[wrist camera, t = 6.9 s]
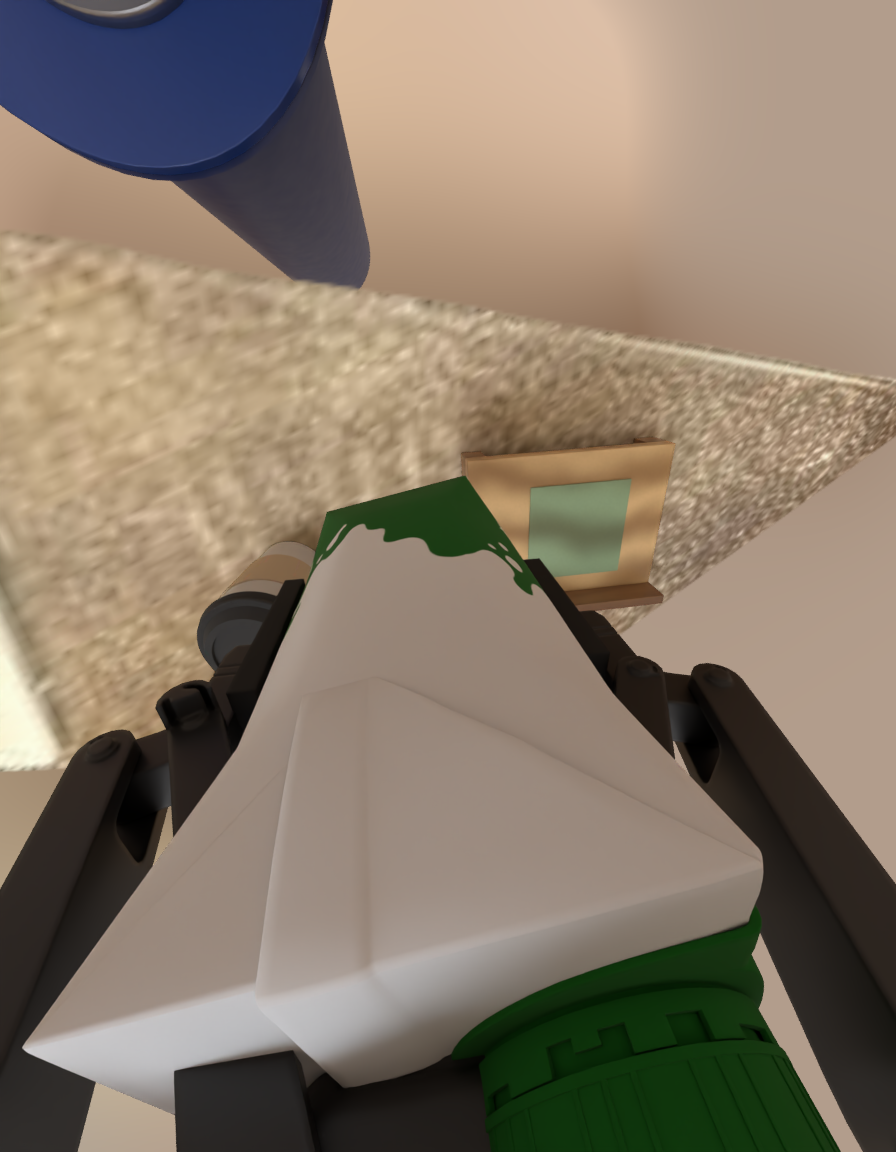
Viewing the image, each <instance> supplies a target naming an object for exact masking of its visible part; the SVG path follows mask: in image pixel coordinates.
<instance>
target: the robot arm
mask: <svg viewBox="0 0 896 1152" xmlns="http://www.w3.org/2000/svg"><path fill="white" fill-rule="evenodd" d="M45 1H47V2H48V3H50V4H51V5H53V6H54V7H56V8H58V9H59V10H61V11H63V12H65V13H67V14H68V15H71V16H73V17H75V18H77V19H80V20H82V21H85V22H88V23H91V24H94V25H97V26H103V27H108V28H118V29H128V28H138V27H142V26H146V25H149V24H152V23H154V22H157V21H159V20H161V19H162V18H164V17H165V16H167V15H169V14H170V13H171V12H172V11H174V10H175V9H176V8H177V7H178V6H179V5H180V4H181V3H182V2H183V1H184V0H45ZM524 562H525V563H526V565H527V566H528V568H529V569H530V571H531V572H532V574H533V575H534V577H535V578H536V580H537V581H538V583H539V584H540V586H541V587H542V589H543V590H544V592H545V593H546V595H547V596H548V598H549V599H550V601H551V602H552V604H553V605H554V607H555V608H556V610H557V611H558V613H559V614H560V616H561V617H562V619H563V620H564V622H565V623H566V625H567V626H568V628H569V629H570V631H571V632H572V634H573V635H574V637H575V638H576V640H577V641H578V643H579V644H580V646H581V647H582V649H583V650H584V652H585V653H586V655H587V656H588V658H589V659H590V661H591V662H592V664H593V665H594V667H595V668H596V670H597V671H598V673H599V674H600V676H601V677H602V679H603V680H604V681H605V683H606V684H607V686H608V687H609V689H610V690H611V691H612V693H613V694H614V695H615V696H616V698H617V699H618V700H619V701H620V702H621V703H622V704H623V705H624V706H625V707H626V708H627V710H628V711H629V712H630V713H631V714H632V715H633V716H634V717H635V718H636V719H637V720H638V721H639V722H640V723H641V724H642V725H643V727H644V728H645V729H646V730H647V731H648V732H649V733H650V734H651V735H652V736H653V737H654V738H655V739H656V740H657V741H658V743H659V744H660V745H661V746H662V747H663V748H664V749H665V750H666V751H667V752H668V753H669V754H670V755H671V756H672V757H673V758H674V760H675V755H674V747H673V741H675V743H676V745H677V747H678V750H679V752H680V754H681V756H682V759H683V761H684V763H685V765H686V768H687V770H688V772H689V774H690V776H691V778H692V779H693V780H694V781H695V782H696V783H697V784H698V785H699V786H700V787H701V788H702V789H703V790H704V791H705V792H706V793H707V795H708V796H709V797H710V798H711V799H712V800H713V801H714V802H715V803H716V804H717V805H718V806H719V807H720V808H721V809H722V810H723V811H724V813H725V814H726V815H727V816H728V817H729V818H730V819H731V820H732V821H733V822H734V823H735V824H736V825H737V826H738V827H739V828H740V829H741V830H742V831H743V832H744V833H745V835H746V836H747V837H748V838H749V839H750V840H751V841H752V842H753V843H754V844H755V845H756V846H757V847H758V848H759V850H760V852H761V854H762V859H763V880H762V885H761V889H760V893H759V896H758V898H757V900H756V903H755V905H756V907H757V909H758V910H759V913H760V916H761V918H762V927H761V931H760V933H761V935H762V938H763V940H764V942H765V945H766V947H767V949H768V951H769V954H770V956H771V958H772V960H773V963H774V965H775V967H776V969H777V972H778V974H779V976H780V978H781V980H782V983H783V985H784V987H785V990H786V992H787V994H788V996H789V998H790V1001H791V1003H792V1005H793V1007H794V1010H795V1012H796V1014H797V1016H798V1018H799V1021H800V1023H801V1025H802V1027H803V1030H804V1032H805V1034H806V1037H807V1039H808V1041H809V1043H810V1046H811V1048H812V1050H813V1052H814V1054H815V1057H816V1059H817V1061H818V1063H819V1066H820V1068H821V1070H822V1072H823V1074H824V1076H825V1079H826V1081H827V1083H828V1085H829V1087H830V1089H831V1091H832V1093H833V1095H834V1097H835V1099H836V1101H837V1103H838V1105H839V1108H840V1110H841V1112H842V1114H843V1116H844V1118H845V1120H846V1122H847V1124H848V1126H849V1127H850V1129H851V1131H852V1133H853V1135H854V1136H855V1138H856V1140H857V1142H858V1143H859V1145H860V1147H861V1149H862V1151H863V1152H896V884H895V882H894V881H893V880H892V879H891V877H890V876H889V875H888V873H887V872H886V871H885V869H884V868H883V867H882V865H881V864H880V863H879V861H878V860H877V858H876V857H875V856H874V854H873V853H872V852H871V850H870V849H869V848H868V846H867V845H866V844H865V842H864V841H863V840H862V838H861V837H860V836H859V834H858V833H857V832H856V830H855V829H854V828H853V826H852V825H851V824H850V822H849V821H848V820H847V818H846V817H845V816H844V814H843V813H842V812H841V810H840V809H839V808H838V806H837V805H836V804H835V802H834V801H833V800H832V798H831V797H830V796H829V794H828V793H827V792H826V790H825V789H824V788H823V786H822V785H821V784H820V782H819V781H818V780H817V778H816V777H815V776H814V774H813V773H812V772H811V770H810V769H809V768H808V766H807V765H806V764H805V763H804V761H803V760H802V758H801V757H800V756H799V754H798V753H797V752H796V750H795V749H794V748H793V746H792V745H791V744H790V742H789V741H788V740H787V738H786V737H785V735H784V734H783V733H782V731H781V730H780V729H779V728H778V726H777V725H776V724H775V722H774V721H773V720H772V718H771V717H770V716H769V714H768V713H767V711H766V710H765V709H764V707H763V706H762V705H761V704H760V702H759V701H758V699H757V698H756V697H755V696H754V694H753V693H752V691H751V690H750V689H749V687H748V686H747V685H746V683H745V682H744V681H743V679H742V678H740V677H739V676H738V675H737V674H736V673H735V672H733V671H731V670H730V669H728V668H725V667H723V666H719V665H716V664H709V663H705V664H698V665H696V666H695V667H694V668H693V670H692V673H691V675H682V674H673V673H667V672H663V670H662V668H661V667H660V666H659V665H658V664H656V663H655V662H653V661H651V660H649V659H647V658H644V657H640V656H636V654H635V653H634V652H633V651H632V650H631V648H630V647H629V646H628V645H627V644H626V642H625V641H624V640H623V639H622V638H621V636H620V635H619V634H617V632H616V630H615V629H614V628H613V627H611V624H610V623H609V622H608V621H607V620H606V618H605V617H603V616H602V615H600V614H599V613H597V612H595V611H594V610H589V611H579V610H578V609H577V607H576V606H575V605H574V603H573V602H572V601H571V599H570V598H569V597H568V595H567V594H566V593H565V591H564V590H563V589H562V587H561V586H560V585H559V583H558V582H557V581H556V579H555V578H554V577H553V575H552V574H551V573H550V571H549V570H548V569H547V567H546V566H545V565H544V564H543V562H542V561H541V560H540V558H537V559H525V560H524ZM304 588H305V581H304V579H293V580H285V581H284V583H283V585H282V587H281V589H280V591H279V593H278V595H277V597H276V598H275V600H274V602H273V604H272V606H271V608H270V610H269V612H268V614H267V616H266V617H265V619H264V621H263V623H262V625H261V627H260V629H259V631H258V633H257V635H256V636H255V638H254V640H253V642H252V644H251V645H240V646H236V647H235V648H233V649H232V650H231V651H230V652H229V653H228V654H226V655H225V657H224V658H223V660H222V662H221V663H220V665H219V668H217V670H216V672H215V673H214V677H212V678H211V680H210V682H206V681H203V680H193V681H189V682H185V683H182V684H180V685H178V686H176V687H173V688H172V689H170V690H169V691H168V692H166V693H165V694H163V696H162V697H161V698H160V699H159V700H158V701H157V704H156V710H157V712H158V714H159V716H160V718H161V720H162V722H163V724H164V726H165V728H166V730H163V731H161V732H158V733H155V734H152V735H149V736H146V737H143V738H140V739H137V740H136V739H135V738H134V736H133V734H132V733H131V732H130V731H127V730H115V731H110V732H108V733H105V734H102V735H100V736H98V737H96V738H94V739H92V740H91V741H89V742H87V743H86V744H85V745H84V746H83V747H81V748H80V749H79V750H78V751H77V752H76V754H75V755H74V756H73V757H72V759H71V761H70V763H69V764H68V766H67V768H66V770H65V772H64V773H63V775H62V777H61V779H60V781H59V783H58V784H57V786H56V788H55V790H54V792H53V794H52V795H51V798H50V799H49V801H48V803H47V805H46V807H45V808H44V810H43V812H42V814H41V816H40V817H39V819H38V821H37V823H36V825H35V827H34V828H33V830H32V832H31V834H30V836H29V838H28V839H27V841H26V843H25V845H24V847H23V849H22V850H21V852H20V854H19V856H18V858H17V860H16V861H15V863H14V865H13V867H12V869H11V871H10V872H9V874H8V876H7V878H6V880H5V882H4V883H3V885H2V887H1V889H0V1152H78V1148H79V1144H80V1140H81V1136H82V1133H83V1129H84V1125H85V1121H86V1117H87V1114H88V1110H89V1106H90V1102H91V1098H92V1094H93V1091H94V1087H95V1083H96V1082H95V1081H92V1080H90V1079H88V1078H85V1077H83V1076H80V1075H78V1074H76V1073H73V1072H71V1071H68V1070H66V1069H64V1068H61V1067H59V1066H57V1065H54V1064H52V1063H49V1062H47V1061H45V1060H42V1059H40V1058H38V1057H36V1056H34V1055H31V1054H29V1053H27V1052H26V1051H25V1050H24V1049H23V1048H22V1047H23V1045H24V1044H25V1042H26V1041H27V1039H28V1038H29V1037H30V1036H31V1034H32V1033H33V1032H34V1030H35V1029H36V1027H37V1026H38V1025H39V1023H40V1022H41V1020H42V1019H43V1018H44V1016H45V1015H46V1014H47V1012H48V1011H49V1009H50V1008H51V1007H52V1005H53V1004H54V1002H55V1001H56V1000H57V998H58V997H59V996H60V994H61V993H62V991H63V990H64V989H65V987H66V986H67V984H68V983H69V982H70V980H71V979H72V977H73V976H74V975H75V973H76V972H77V971H78V969H79V968H80V966H81V965H82V964H83V962H84V961H85V959H86V958H87V957H88V955H89V954H90V953H91V951H92V950H93V948H94V947H95V946H96V944H97V943H98V941H99V940H100V939H101V937H102V936H103V935H104V933H105V932H106V930H107V929H108V928H109V926H110V925H111V923H112V922H113V921H114V919H115V918H116V916H117V915H118V914H119V912H120V911H121V910H122V908H123V907H124V905H125V904H126V903H127V901H128V900H129V898H130V897H131V896H132V894H133V893H134V892H135V890H136V889H137V887H138V886H139V885H140V883H141V882H142V880H143V879H144V878H145V876H146V875H147V873H148V872H149V871H150V869H151V868H152V866H153V862H154V859H155V854H156V851H157V847H158V843H159V840H160V836H161V832H162V828H163V824H164V820H165V817H166V813H167V809H168V807H169V806H171V807H172V824H173V837H174V836H175V835H176V833H177V832H178V830H179V829H180V828H181V826H182V825H183V823H184V822H185V821H186V819H187V818H188V816H189V815H190V814H191V812H192V811H193V810H194V808H195V807H196V805H197V804H198V803H199V801H200V800H201V798H202V797H203V796H204V794H205V793H206V791H207V790H208V789H209V787H210V786H211V784H212V783H213V782H214V780H215V779H216V777H217V776H218V775H219V773H220V772H221V770H222V769H223V767H224V766H225V765H226V763H227V762H228V760H229V759H230V757H231V756H232V755H233V753H234V752H235V750H236V749H237V747H238V745H239V743H240V740H241V738H242V736H243V734H244V731H245V729H246V727H247V724H248V722H249V720H250V717H251V715H252V713H253V710H254V708H255V706H256V703H257V701H258V698H259V696H260V694H261V691H262V689H263V686H264V684H265V682H266V679H267V677H268V675H269V672H270V670H271V667H272V665H273V663H274V660H275V658H276V655H277V653H278V651H279V648H280V646H281V643H282V641H283V639H284V636H285V634H286V632H287V629H288V627H289V624H290V622H291V620H292V617H293V615H294V612H295V610H296V607H297V605H298V603H299V600H300V598H301V595H302V593H303V591H304ZM485 1058H486V1057H485V1055H480V1056H475V1057H469V1058H464V1059H458V1060H452V1057H451V1054H450V1055H448V1056H445V1057H443V1058H442V1059H441V1060H440V1061H438V1062H436V1063H435V1064H432V1065H430V1066H428V1067H426V1068H424V1069H421V1070H419V1071H416V1072H413V1073H410V1074H407V1075H404V1076H401V1077H398V1078H395V1079H390V1080H384V1081H379V1082H374V1083H369V1084H365V1085H361V1086H357V1087H348V1088H343V1087H342V1086H341V1085H340V1084H339V1083H338V1082H337V1081H335V1080H334V1079H333V1078H332V1077H331V1076H330V1075H329V1074H328V1073H327V1072H326V1073H324V1074H322V1075H321V1076H319V1077H318V1078H317V1079H316V1080H315V1081H314V1082H313V1083H312V1084H311V1085H310V1086H309V1087H308V1088H307V1086H306V1082H305V1078H304V1073H303V1069H302V1064H301V1062H300V1061H299V1059H298V1058H297V1056H296V1054H295V1053H294V1051H293V1050H289V1051H283V1052H277V1053H272V1054H266V1055H260V1056H254V1057H248V1058H242V1059H237V1060H231V1061H225V1062H219V1063H214V1064H208V1065H202V1066H196V1067H191V1068H186V1069H181V1070H176V1071H174V1098H175V1121H176V1122H175V1123H176V1144H177V1145H176V1147H177V1152H491V1148H490V1140H489V1133H486V1127H485V1119H486V1118H487V1117H488V1116H486V1110H485V1102H484V1093H483V1086H482V1079H481V1074H480V1068H479V1064H480V1063H481V1062H482V1061H483V1060H484V1059H485ZM494 1104H495V1102H494ZM495 1111H496V1109H495Z"/></svg>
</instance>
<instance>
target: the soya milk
mask: <svg viewBox="0 0 896 1152" xmlns="http://www.w3.org/2000/svg"><path fill="white" fill-rule="evenodd" d="M762 880H763V859H762V854H761V852H760V850H759V848H758V847H757V846H756V845H755V844H754V843H753V842H752V841H751V840H750V839H749V838H748V837H747V836H746V835H745V833H744V832H743V831H742V830H741V829H740V828H739V827H738V826H737V825H736V824H735V823H734V822H733V821H732V820H731V819H730V818H729V817H728V816H727V815H726V814H725V813H724V811H723V810H722V809H721V808H720V807H719V806H718V805H717V804H716V803H715V802H714V801H713V800H712V799H711V798H710V797H709V796H708V795H707V793H706V792H705V791H704V790H703V789H702V788H701V787H700V786H699V785H698V784H697V783H696V782H695V781H694V780H693V779H692V778H691V776H690V775H688V774H687V772H686V771H685V770H684V769H683V768H682V767H681V766H680V765H679V764H678V763H677V762H676V761H675V760H674V758H673V757H672V756H671V755H670V754H669V753H668V752H667V751H666V750H665V749H664V748H663V747H662V746H661V745H660V744H659V743H658V741H657V740H656V739H655V738H654V737H653V736H652V735H651V734H650V733H649V732H648V731H647V730H646V729H645V728H644V727H643V725H642V724H641V723H640V722H639V721H638V720H637V719H636V718H635V717H634V716H633V715H632V714H631V713H630V712H629V711H628V710H627V708H626V707H625V706H624V705H623V704H622V703H621V702H620V701H619V700H618V699H617V698H616V696H615V695H614V694H613V693H612V691H611V690H610V689H609V687H608V686H607V684H606V683H605V681H604V680H603V679H602V677H601V676H600V674H599V673H598V671H597V670H596V668H595V667H594V665H593V664H592V662H591V661H590V659H589V658H588V656H587V655H586V653H585V652H584V650H583V649H582V647H581V646H580V644H579V643H578V641H577V640H576V638H575V637H574V635H573V634H572V632H571V631H570V629H569V628H568V626H567V625H566V623H565V622H564V620H563V619H562V617H561V616H560V614H559V613H558V611H557V610H556V608H555V607H554V605H553V604H552V602H551V601H550V599H549V598H548V596H547V595H546V593H545V592H544V590H543V589H542V587H541V586H540V584H539V583H538V581H537V580H536V578H535V577H534V575H533V574H532V572H531V571H530V569H529V568H528V566H527V565H526V563H525V562H524V560H523V559H522V557H521V556H520V554H519V553H518V551H517V550H516V548H515V547H514V545H513V544H512V542H511V541H510V539H509V538H508V536H507V535H506V533H505V532H504V531H503V529H502V528H501V526H500V525H499V523H498V522H497V520H496V519H495V518H494V516H493V515H492V513H491V512H490V510H489V509H488V508H487V506H486V505H485V503H484V502H483V500H482V499H481V498H480V496H479V495H478V493H477V492H476V490H475V489H474V487H473V486H472V484H471V483H470V482H469V480H468V479H467V477H466V476H461V477H457V478H454V479H450V480H446V481H442V482H439V483H435V484H431V485H427V486H423V487H420V488H416V489H412V490H408V491H405V492H401V493H397V494H393V495H390V496H386V497H382V498H378V499H374V500H371V501H367V502H363V503H359V504H356V505H352V506H348V507H344V508H340V509H337V510H333V511H329V512H327V514H326V517H325V521H324V524H323V528H322V531H321V535H320V538H319V542H318V545H317V548H316V552H315V555H314V559H313V562H312V566H311V569H310V573H309V576H308V580H307V583H306V586H305V588H304V591H303V593H302V595H301V598H300V600H299V603H298V605H297V607H296V610H295V612H294V615H293V617H292V620H291V622H290V624H289V627H288V629H287V632H286V634H285V636H284V639H283V641H282V643H281V646H280V648H279V651H278V653H277V655H276V658H275V660H274V663H273V665H272V667H271V670H270V672H269V675H268V677H267V679H266V682H265V684H264V686H263V689H262V691H261V694H260V696H259V698H258V701H257V703H256V706H255V708H254V710H253V713H252V715H251V717H250V720H249V722H248V724H247V727H246V729H245V731H244V734H243V736H242V738H241V740H240V743H239V745H238V747H237V749H236V750H235V752H234V753H233V755H232V756H231V757H230V759H229V760H228V762H227V763H226V765H225V766H224V767H223V769H222V770H221V772H220V773H219V775H218V776H217V777H216V779H215V780H214V782H213V783H212V784H211V786H210V787H209V789H208V790H207V791H206V793H205V794H204V796H203V797H202V798H201V800H200V801H199V803H198V804H197V805H196V807H195V808H194V810H193V811H192V812H191V814H190V815H189V816H188V818H187V819H186V821H185V822H184V823H183V825H182V826H181V828H180V829H179V830H178V832H177V833H176V835H175V836H174V837H173V839H172V840H171V842H170V843H169V844H168V846H167V847H166V848H165V850H164V851H163V853H162V854H161V855H160V857H159V858H158V860H157V861H156V863H155V864H154V865H153V867H152V868H151V869H150V871H149V872H148V873H147V875H146V876H145V878H144V879H143V880H142V882H141V883H140V885H139V886H138V887H137V889H136V890H135V892H134V893H133V894H132V896H131V897H130V898H129V900H128V901H127V903H126V904H125V905H124V907H123V908H122V910H121V911H120V912H119V914H118V915H117V916H116V918H115V919H114V921H113V922H112V923H111V925H110V926H109V928H108V929H107V930H106V932H105V933H104V935H103V936H102V937H101V939H100V940H99V941H98V943H97V944H96V946H95V947H94V948H93V950H92V951H91V953H90V954H89V955H88V957H87V958H86V959H85V961H84V962H83V964H82V965H81V966H80V968H79V969H78V971H77V972H76V973H75V975H74V976H73V977H72V979H71V980H70V982H69V983H68V984H67V986H66V987H65V989H64V990H63V991H62V993H61V994H60V996H59V997H58V998H57V1000H56V1001H55V1002H54V1004H53V1005H52V1007H51V1008H50V1009H49V1011H48V1012H47V1014H46V1015H45V1016H44V1018H43V1019H42V1020H41V1022H40V1023H39V1025H38V1026H37V1027H36V1029H35V1030H34V1032H33V1033H32V1034H31V1036H30V1037H29V1038H28V1039H27V1041H26V1042H25V1044H24V1045H23V1047H22V1048H23V1049H24V1050H25V1051H26V1052H27V1053H29V1054H31V1055H34V1056H36V1057H38V1058H40V1059H42V1060H45V1061H47V1062H49V1063H52V1064H54V1065H57V1066H59V1067H61V1068H64V1069H66V1070H68V1071H71V1072H73V1073H76V1074H78V1075H80V1076H83V1077H85V1078H88V1079H90V1080H92V1081H95V1082H97V1083H100V1084H102V1085H104V1086H107V1087H109V1088H111V1089H114V1090H116V1091H119V1092H121V1093H123V1094H126V1095H128V1096H131V1097H133V1098H135V1099H138V1100H140V1101H143V1102H145V1103H147V1104H150V1105H152V1106H154V1107H157V1108H159V1109H162V1110H164V1111H166V1112H169V1113H171V1114H174V1115H175V1098H174V1071H176V1070H181V1069H186V1068H191V1067H196V1066H202V1065H208V1064H214V1063H219V1062H225V1061H231V1060H237V1059H242V1058H248V1057H254V1056H260V1055H266V1054H272V1053H277V1052H283V1051H289V1050H293V1051H294V1053H295V1054H296V1056H297V1058H298V1059H299V1061H300V1062H301V1064H302V1069H303V1073H304V1078H305V1082H306V1086H307V1088H308V1087H309V1086H310V1085H311V1084H312V1083H313V1082H314V1081H315V1080H316V1079H317V1078H318V1077H319V1076H321V1075H322V1074H324V1073H326V1072H327V1073H328V1074H329V1075H330V1076H331V1077H332V1078H333V1079H334V1080H335V1081H337V1082H338V1083H339V1084H340V1085H341V1086H342V1087H343V1088H348V1087H357V1086H361V1085H365V1084H369V1083H374V1082H379V1081H384V1080H390V1079H395V1078H398V1077H401V1076H404V1075H407V1074H410V1073H413V1072H416V1071H419V1070H421V1069H424V1068H426V1067H428V1066H430V1065H432V1064H435V1063H436V1062H438V1061H440V1060H441V1059H442V1058H443V1057H445V1056H448V1055H450V1054H451V1057H452V1060H458V1059H464V1058H469V1057H475V1056H480V1055H485V1057H486V1058H485V1059H484V1060H483V1061H482V1062H481V1063H480V1064H479V1068H480V1074H481V1079H482V1086H483V1093H484V1102H485V1110H486V1116H488V1117H487V1118H486V1119H485V1127H486V1133H489V1140H490V1148H491V1152H841V1151H840V1149H839V1147H838V1146H837V1144H836V1142H835V1141H834V1139H833V1137H832V1135H831V1133H830V1131H829V1130H828V1128H827V1126H826V1124H825V1123H824V1121H823V1119H822V1117H821V1116H820V1114H819V1112H818V1110H817V1109H816V1107H815V1105H814V1103H813V1101H812V1100H811V1098H810V1096H809V1094H808V1092H807V1091H806V1089H805V1087H804V1085H803V1083H802V1082H801V1080H800V1078H799V1077H798V1075H797V1073H796V1071H795V1070H794V1068H793V1065H792V1063H791V1061H790V1060H789V1058H788V1056H787V1055H786V1052H785V1051H784V1050H783V1049H782V1048H781V1047H780V1046H779V1045H778V1043H777V1041H776V1039H775V1038H774V1036H773V1034H772V1032H771V1031H770V1029H769V1027H768V1025H767V1023H766V1022H765V1020H764V1018H763V1016H762V1015H761V1013H760V1011H759V1009H758V1008H759V1006H760V1004H761V1001H762V997H763V992H764V981H763V978H762V975H761V973H760V971H759V969H758V967H757V965H756V963H755V961H754V959H753V957H752V955H751V954H752V952H753V950H754V949H755V946H756V943H757V940H758V937H759V934H760V931H761V927H762V918H761V916H760V913H759V910H758V909H757V907H756V905H755V903H756V900H757V898H758V896H759V893H760V889H761V885H762ZM494 1102H495V1104H494ZM495 1109H496V1111H495Z"/></svg>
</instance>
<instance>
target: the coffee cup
mask: <svg viewBox="0 0 896 1152" xmlns="http://www.w3.org/2000/svg"><path fill="white" fill-rule="evenodd" d="M314 555H315V551H313V550H312V549H311V548H309V547H308V546H306V545H303V544H301V543H297V542H290V541H287V542H280V543H277V544H274V545H272V546H271V547H269V548H268V549H267V550H266V551H265V552H264V553H263V554H262V555H261V556H260V558H259V559H257V560H256V561H254V562H253V563H252V564H251V565H250V566H249V567H248V568H247V569H246V570H245V571H244V572H243V573H242V574H241V575H240V576H239V577H238V578H237V579H236V580H235V581H234V582H233V583H232V584H231V585H230V586H229V587H228V588H227V589H226V590H225V591H224V592H223V594H222V595H221V596H220V598H219V599H218V600H216V601H214V602H213V603H212V604H211V605H210V606H209V607H208V608H207V609H206V610H205V611H204V613H203V615H202V617H201V619H200V622H199V626H198V630H197V641H198V646H199V649H200V651H201V653H202V655H203V657H204V658H205V660H206V661H207V662H208V664H209V665H210V666H211V667H212V669H213V670H214V671H215V672H216V670H217V668H219V665H220V663H221V662H222V660H223V658H224V657H225V655H226V654H228V653H229V652H230V651H231V650H232V649H233V648H235V647H236V646H240V645H251V644H252V642H253V640H254V638H255V636H256V635H257V633H258V631H259V629H260V627H261V625H262V623H263V621H264V619H265V617H266V616H267V614H268V612H269V610H270V608H271V606H272V604H273V602H274V600H275V598H276V597H277V595H278V593H279V591H280V589H281V587H282V585H283V583H284V581H285V580H293V579H304V581H305V586H306V583H307V580H308V576H309V573H310V569H311V566H312V562H313V559H314Z"/></svg>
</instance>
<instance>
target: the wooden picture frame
mask: <svg viewBox="0 0 896 1152" xmlns="http://www.w3.org/2000/svg"><path fill="white" fill-rule="evenodd" d="M674 449H675V443H672V442H669V441H666V440H662V439H659V438H655V437H643V438H634V442H633V444H624V445H612V446H600V447H589V448H577V449H565V450H553V451H542V452H530V453H518V454H506V455H495V456H485V455H484V454H483V453H482V452H481V451H477V452H465V453H461V462H462V476H466V477H467V479H468V480H469V482H470V483H471V484H472V486H473V487H474V489H475V490H476V492H477V493H478V495H479V496H480V498H481V499H482V500H483V502H484V503H485V505H486V506H487V508H488V509H489V510H490V512H491V513H492V515H493V516H494V518H495V519H496V520H497V522H498V523H499V525H500V526H501V528H502V529H503V531H504V532H505V533H506V535H507V536H508V538H509V539H510V541H511V542H512V544H513V545H514V547H515V548H516V550H517V551H518V553H519V554H520V556H521V557H522V559H523V560H525V559H537V558H540V560H541V561H542V562H543V564H544V565H545V566H546V567H547V569H548V570H549V571H550V573H551V574H552V575H553V577H554V578H555V579H556V581H557V582H558V583H559V585H560V586H561V587H562V589H563V590H564V591H565V593H566V594H567V595H568V597H569V598H570V599H571V601H572V602H573V603H574V605H575V606H576V607H577V609H578V610H579V611H589V610H594V611H598V610H606V609H615V608H624V607H632V606H641V605H650V604H658V603H662V601H663V597H664V595H663V594H662V593H660V592H659V591H658V590H657V589H656V588H655V587H653V586H652V585H651V584H650V583H649V582H648V580H649V575H650V570H651V565H652V560H653V555H654V550H655V545H656V540H657V535H658V530H659V525H660V520H661V515H662V510H663V504H664V499H665V494H666V489H667V484H668V479H669V474H670V469H671V464H672V459H673V454H674Z"/></svg>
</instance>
